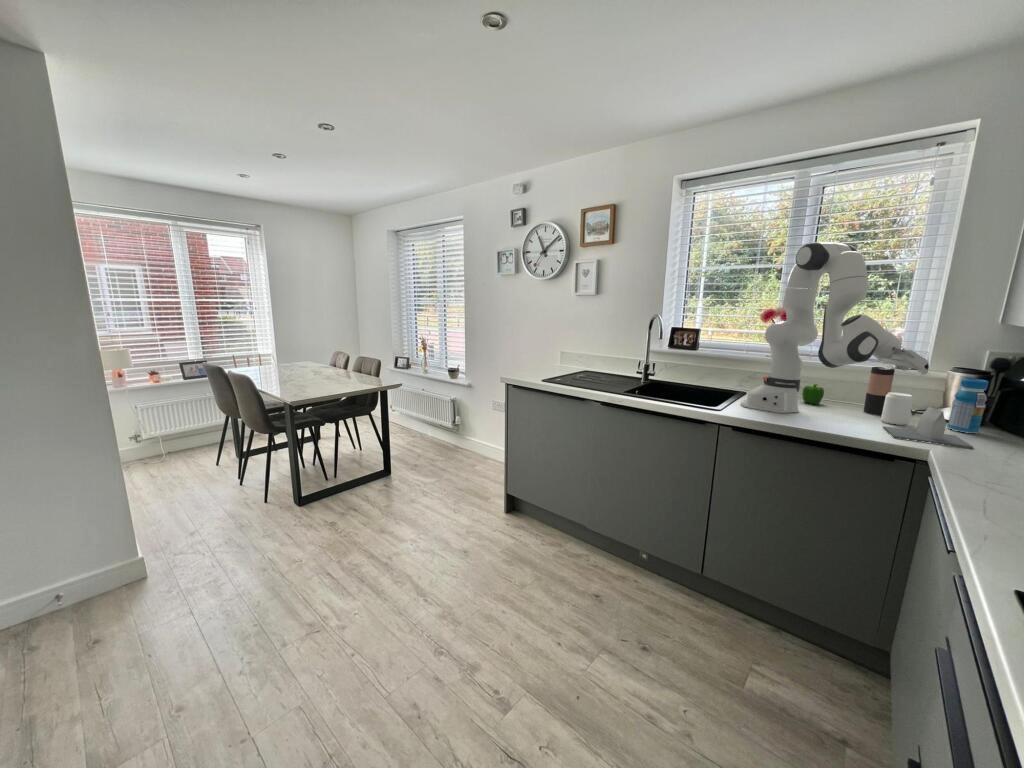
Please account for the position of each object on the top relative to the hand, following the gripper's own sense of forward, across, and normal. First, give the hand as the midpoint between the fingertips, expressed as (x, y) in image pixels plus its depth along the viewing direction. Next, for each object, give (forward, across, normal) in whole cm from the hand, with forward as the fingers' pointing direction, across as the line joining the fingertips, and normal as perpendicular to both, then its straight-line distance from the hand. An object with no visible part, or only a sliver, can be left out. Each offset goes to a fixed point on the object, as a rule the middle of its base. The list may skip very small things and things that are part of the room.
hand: (915, 371), depth 149 cm
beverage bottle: (+33, +8, +4) cm, 34 cm away
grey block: (+17, -7, +16) cm, 24 cm away
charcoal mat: (+16, -7, +17) cm, 24 cm away
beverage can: (+18, +13, +16) cm, 27 cm away
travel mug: (+19, +29, +15) cm, 37 cm away
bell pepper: (+4, +41, +26) cm, 49 cm away
